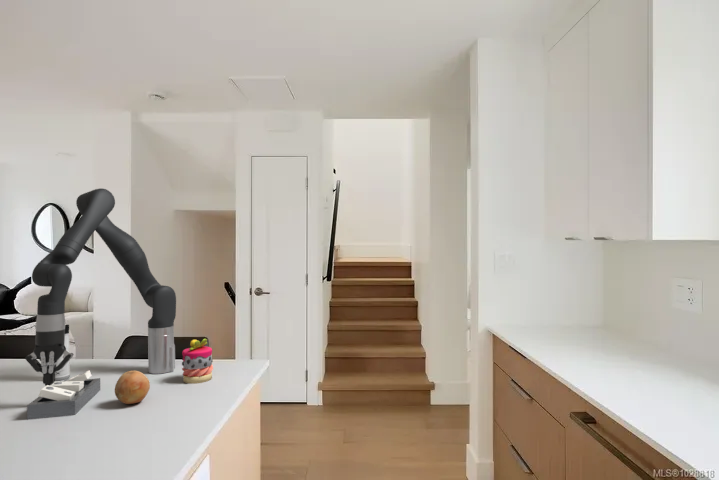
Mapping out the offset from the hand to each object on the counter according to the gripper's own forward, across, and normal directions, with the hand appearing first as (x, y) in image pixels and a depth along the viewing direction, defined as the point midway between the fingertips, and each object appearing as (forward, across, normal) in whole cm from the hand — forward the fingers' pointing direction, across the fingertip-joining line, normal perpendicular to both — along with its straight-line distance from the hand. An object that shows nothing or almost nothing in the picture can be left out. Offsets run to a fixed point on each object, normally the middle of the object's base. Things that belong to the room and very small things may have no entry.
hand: (48, 384), depth 141 cm
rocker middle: (+1, -5, 0) cm, 5 cm away
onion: (+6, -25, +6) cm, 26 cm away
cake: (+5, -42, -15) cm, 45 cm away
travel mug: (+6, +8, -32) cm, 34 cm away
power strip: (+6, -5, -4) cm, 9 cm away
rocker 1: (+1, -5, +8) cm, 9 cm away
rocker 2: (+1, -5, -8) cm, 9 cm away
